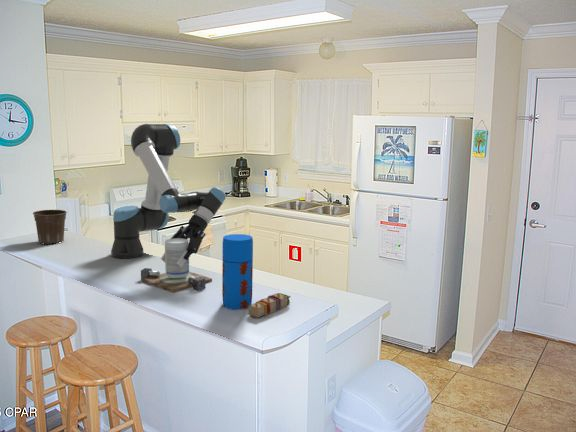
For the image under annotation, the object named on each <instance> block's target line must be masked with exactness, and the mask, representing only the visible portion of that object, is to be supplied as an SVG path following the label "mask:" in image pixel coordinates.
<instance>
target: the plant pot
mask: <svg viewBox="0 0 576 432" xmlns="http://www.w3.org/2000/svg"><path fill="white" fill-rule="evenodd" d="M67 213H68V211H66V210H64V209H42V210H36V211H33V212H32V215H33V217H34V222H35V227H36V233H37V239H38V243H39V242H40V243H45V244H44V245H49V244H50V245H53V244H52V243H59V242H62V241H63V242H64V241H65V227H66V225H65V222H66V218H67ZM63 242H62V243H63ZM40 243H39V244H40ZM59 244H60V243H59Z"/></svg>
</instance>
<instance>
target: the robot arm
mask: <svg viewBox="0 0 576 432" xmlns="http://www.w3.org/2000/svg"><path fill="white" fill-rule="evenodd" d="M180 145H181V135H180V132H179V130H178V128H177V127H176V126H175V125H173V124H169V123H168V124H167V123H156V124H155V123H153V124H152V123H144V124H141V125H138V126H137V127H136V128H135V129H134V130H133V132H132V134H131V137H130V146H131V149H132V151H133V153H134V154H135V156H136V157H139V159H140V161H141V162H142V164H143V166H144V168H145V170H146V172H147V174H148V177H147V185H146V192H145V199H144V200H143V201H141V203H140V204H141V205H140V207H139V206H137V205H125V206H120V207H118V208H116V209H114V211H113V216H112V217H113V219H112V220H113V233H114V234H113V238H114V239H113V242H112V248H111V250H110V257H113V258H116V259H134V258H139V257H142V256H144V247H143V245H142V242H141V240H140V239H141V238H140V233H141V232H148V231H157V230H162V229H163V228H165V227H166V226H167V225H168V222H169V219H170V214H171V213H172V214H174V213H178V212H186V211H187V212H189V211H194V210H195V211H194V212H193V214H192V216H191V217H190V218H189V220H188V225H187V226H186V227H185V226H183V225H181V226H180V228H179V229H178V230H177V231H176V232H175V233H174V235H172V237H171V238H170V239H174V238H182V239H187V240H188V239H189V240H188V243H189V245H188V249H187V250H185V252H184V253H183V255H182V256H181V257H180V259H179V260H178V262H177V264H178V265H179V266H180V267H182V266H183V265H184V263H185V262H186V260H188V258H189V259H190V257H191V255H192V254H195V255H196V254H197V253H198V251H199V249H200V246H201V244H202V242H203V239H204V238H205V236H206V235H207V234H206V232H205V230H206V228H207V227H208V226H209V225H208V224H210V222H211V221H212V219H213V218H214V217H215V215H216V214H217V212H218V211H219V209H220V208H221V206H222V205H223V204H224V202H225V200H226V199H227V195H226V193H225V192H224V190H222V189H220V188H218V187H216V186H215V187H213V186H212V187H211V189H209V191H208V192H202V191H201V192H200V191H190V192H187V193H180V192H179V191H178V189H177V187H176V185H175V183H174V181H173V180H172V178H171V176H170V174H169V173H168V170H169V163H170V158H171V157H172V156H173V155H174V151H175V150H177V149H178V148H179V147H180ZM169 213H170V214H169ZM160 260H161V261H162V262H163V263H165V252H164V253H163V254H162V256H161V257H160Z"/></svg>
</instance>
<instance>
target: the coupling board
mask: <svg viewBox="0 0 576 432" xmlns="http://www.w3.org/2000/svg"><path fill="white" fill-rule="evenodd" d="M189 277H192V278H199V277H202V278H205V284H207V283H211V282H213V278H211V277H208V276H205V275H202V274H199V273H195V272H192V271H189V275H188V276H186V277H183V278H170V277H167V276H166V272H164V273H160V276H159V277H148V278H143V279H142V280H141V281H142V283H144V284H145V283H146V284H149V285H151V286H154V287H156V288H158V289H163V290H164V291H167V292H171V293H176V292H179V291H183V290H187V289H189V288H193V284H191V283H188V278H189Z"/></svg>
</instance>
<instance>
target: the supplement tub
mask: <svg viewBox="0 0 576 432" xmlns="http://www.w3.org/2000/svg"><path fill="white" fill-rule="evenodd" d="M188 245H189V240H188V239H182V238H174V239H171V238H169V239H165V241H164V253H165V262H164V263H165V264H164V265H165V273H166V276H167V277H170V278H183V277H186V276H188V275H189V272H190V257H189V258H188V260H186V262H185V263H184V265H183V266H182V267H180V266H179V265H178V264H177V262H178V260H179V259H180V257H181V256H182V255H183V253H184V252H185V250H187V249H188Z"/></svg>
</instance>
